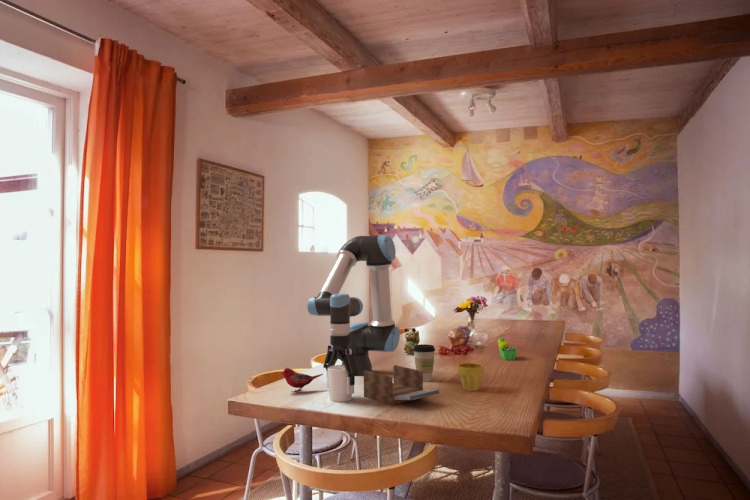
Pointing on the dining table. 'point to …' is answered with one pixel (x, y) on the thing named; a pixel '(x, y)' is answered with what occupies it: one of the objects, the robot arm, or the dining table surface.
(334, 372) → the candle holder
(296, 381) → the decorative bird figurine
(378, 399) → the small wooden shelf
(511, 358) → the fruit basket
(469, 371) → the plant pot
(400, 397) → the pale grey panel
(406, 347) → the decorative figurine
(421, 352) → the coffee cup
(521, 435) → the dining table surface
